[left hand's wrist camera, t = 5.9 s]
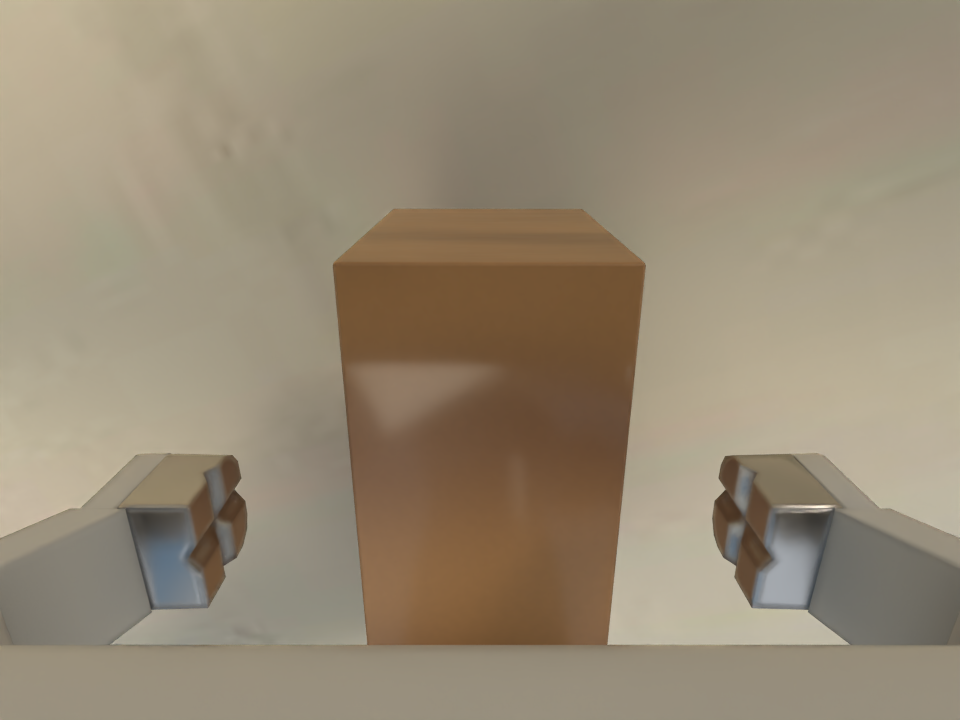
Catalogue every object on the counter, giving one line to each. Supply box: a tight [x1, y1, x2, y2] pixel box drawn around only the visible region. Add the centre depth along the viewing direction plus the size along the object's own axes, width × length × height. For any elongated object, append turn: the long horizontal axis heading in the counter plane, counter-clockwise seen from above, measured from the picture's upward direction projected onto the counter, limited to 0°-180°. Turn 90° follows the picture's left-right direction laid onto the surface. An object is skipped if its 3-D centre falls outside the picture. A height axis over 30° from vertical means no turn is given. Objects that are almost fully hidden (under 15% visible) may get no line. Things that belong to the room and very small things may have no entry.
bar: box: [333, 209, 646, 645], centre depth 19 cm, size 23×6×8 cm, turn 0°
